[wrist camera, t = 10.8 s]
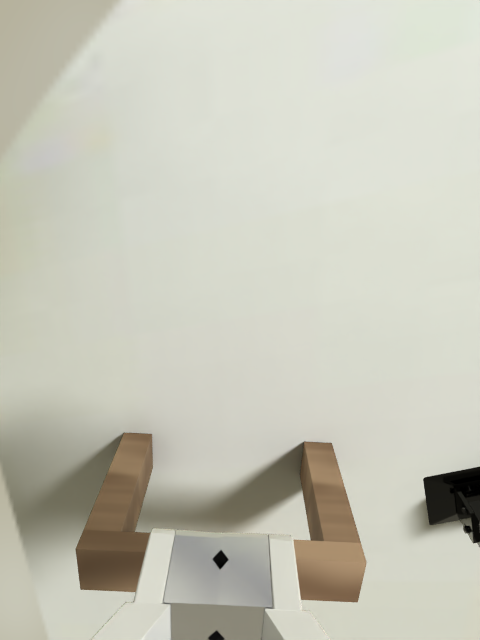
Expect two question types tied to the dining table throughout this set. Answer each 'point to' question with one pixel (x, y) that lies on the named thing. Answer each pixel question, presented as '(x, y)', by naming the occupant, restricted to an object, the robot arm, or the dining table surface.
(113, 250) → the dining table surface
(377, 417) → the dining table surface
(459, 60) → the dining table surface
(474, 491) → the black stepped block
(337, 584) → the bridge
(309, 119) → the dining table surface
